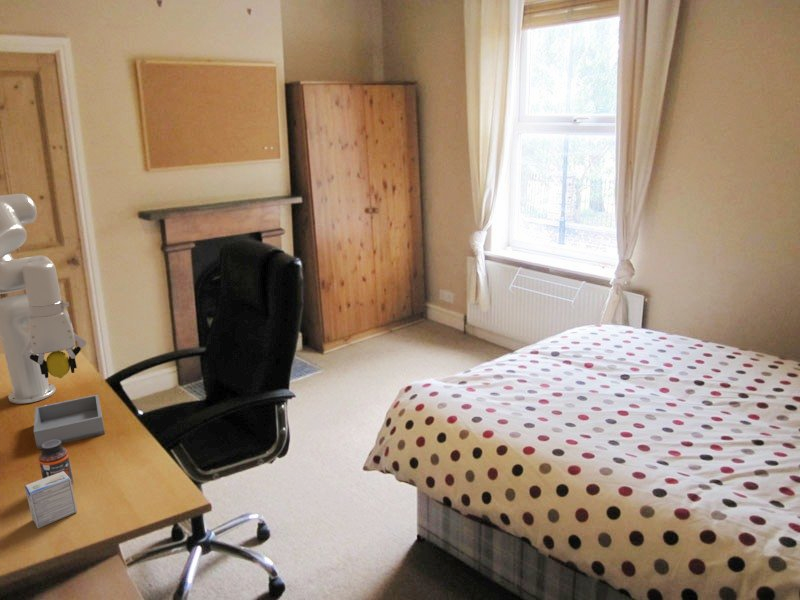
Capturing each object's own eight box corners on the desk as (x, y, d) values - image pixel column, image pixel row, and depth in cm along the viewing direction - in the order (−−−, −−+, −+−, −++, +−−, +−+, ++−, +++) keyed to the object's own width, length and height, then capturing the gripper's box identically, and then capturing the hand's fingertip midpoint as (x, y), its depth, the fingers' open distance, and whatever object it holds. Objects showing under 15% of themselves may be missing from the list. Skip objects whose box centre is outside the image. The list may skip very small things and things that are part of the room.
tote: (38, 423, 178) (35, 407, 176) (101, 409, 185) (98, 394, 183) (37, 449, 164) (33, 432, 163) (104, 433, 171) (101, 417, 170)
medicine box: (71, 504, 141) (64, 469, 139) (78, 512, 138) (70, 478, 135) (31, 520, 136) (23, 484, 133) (38, 529, 133) (29, 493, 130)
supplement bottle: (54, 497, 144) (45, 453, 140) (39, 489, 147) (30, 446, 143) (79, 484, 149) (70, 441, 145) (64, 477, 152) (55, 434, 148)
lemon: (77, 375, 171) (71, 348, 169) (58, 383, 166) (53, 355, 164) (62, 372, 173) (57, 345, 171) (44, 380, 169) (38, 352, 166)
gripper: (83, 300, 171) (94, 362, 176) (9, 310, 164) (23, 375, 169) (84, 307, 165) (96, 371, 170) (7, 319, 157) (22, 386, 163)
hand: (59, 373), depth 170 cm, fingers closed on lemon, 5 cm apart
